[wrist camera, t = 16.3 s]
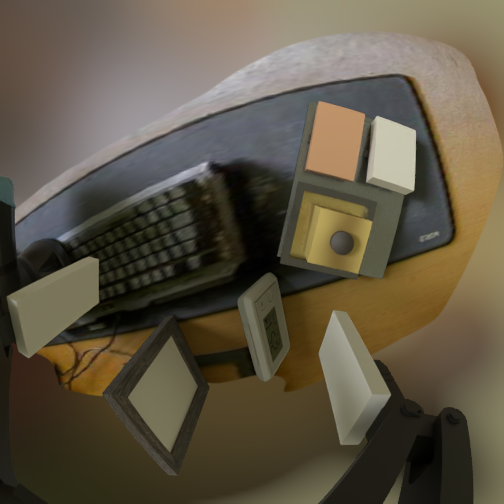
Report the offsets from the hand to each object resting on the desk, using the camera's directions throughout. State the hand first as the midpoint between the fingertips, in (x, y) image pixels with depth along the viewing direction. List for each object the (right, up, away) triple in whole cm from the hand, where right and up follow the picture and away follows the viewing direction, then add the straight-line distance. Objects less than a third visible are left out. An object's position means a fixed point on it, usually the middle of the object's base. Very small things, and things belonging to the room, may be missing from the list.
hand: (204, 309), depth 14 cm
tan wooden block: (+13, +6, +23) cm, 27 cm away
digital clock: (+5, -6, +29) cm, 30 cm away
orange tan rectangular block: (+13, +17, +19) cm, 28 cm away
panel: (+16, +12, +23) cm, 30 cm away
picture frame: (-9, -15, +32) cm, 37 cm away
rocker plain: (+21, +16, +18) cm, 32 cm away
